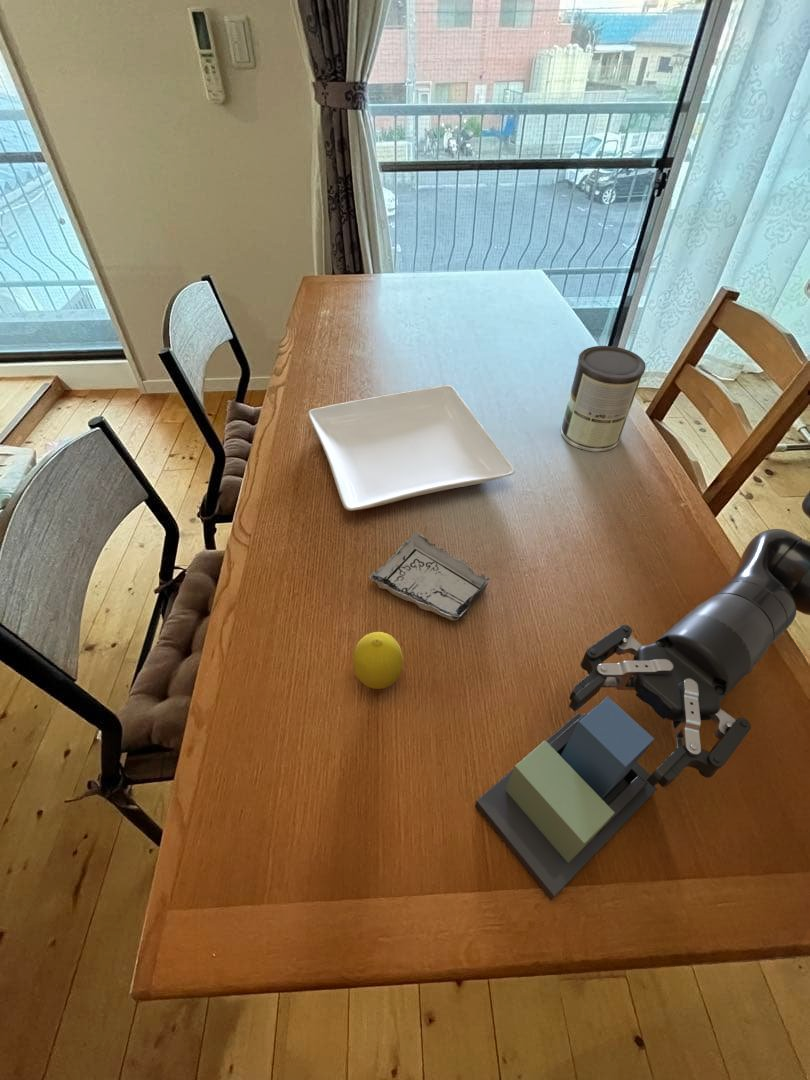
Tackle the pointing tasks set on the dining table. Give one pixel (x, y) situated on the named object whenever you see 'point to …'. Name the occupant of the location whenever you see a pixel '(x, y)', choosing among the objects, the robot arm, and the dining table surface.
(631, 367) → the coffee can
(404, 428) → the square plate
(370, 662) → the lemon
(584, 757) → the blue rectangular block
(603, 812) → the seat frame
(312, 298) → the dining table surface
